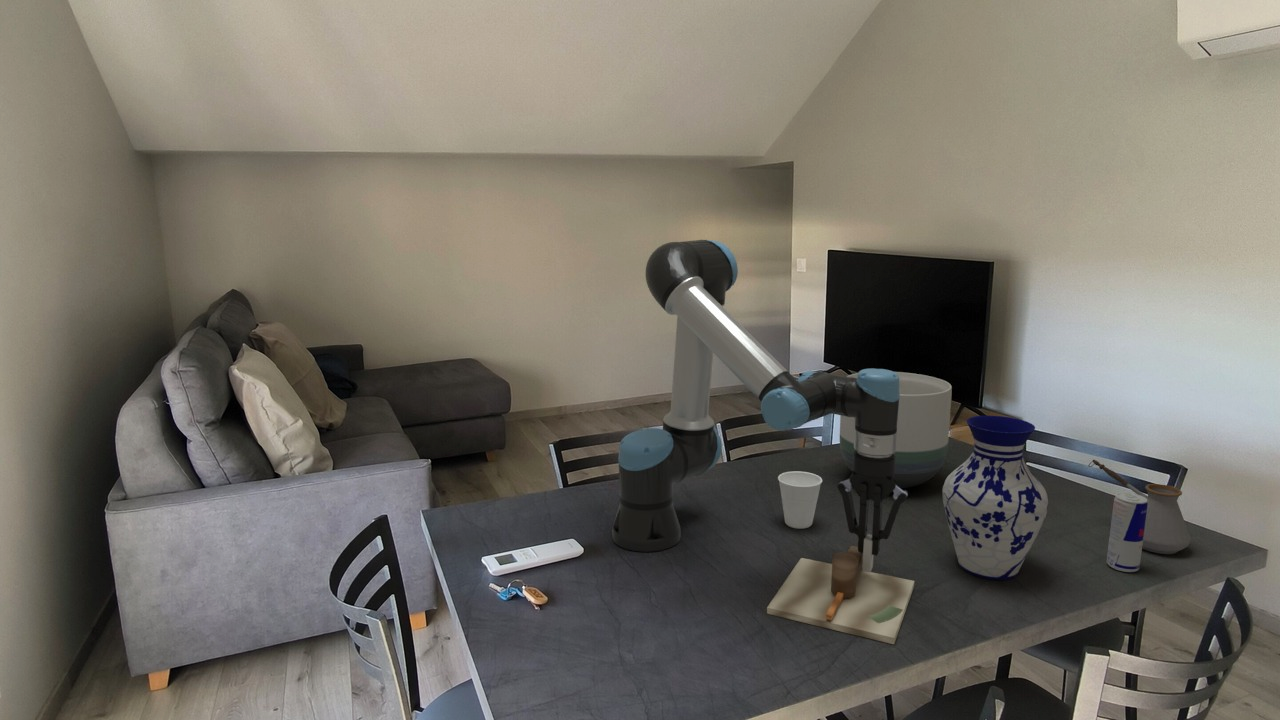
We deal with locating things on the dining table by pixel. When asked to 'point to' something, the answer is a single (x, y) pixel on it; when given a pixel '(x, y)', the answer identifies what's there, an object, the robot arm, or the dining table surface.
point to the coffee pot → (1159, 517)
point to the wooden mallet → (844, 576)
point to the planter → (913, 429)
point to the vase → (994, 500)
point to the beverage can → (1127, 531)
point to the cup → (799, 497)
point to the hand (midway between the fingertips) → (867, 568)
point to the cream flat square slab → (844, 601)
